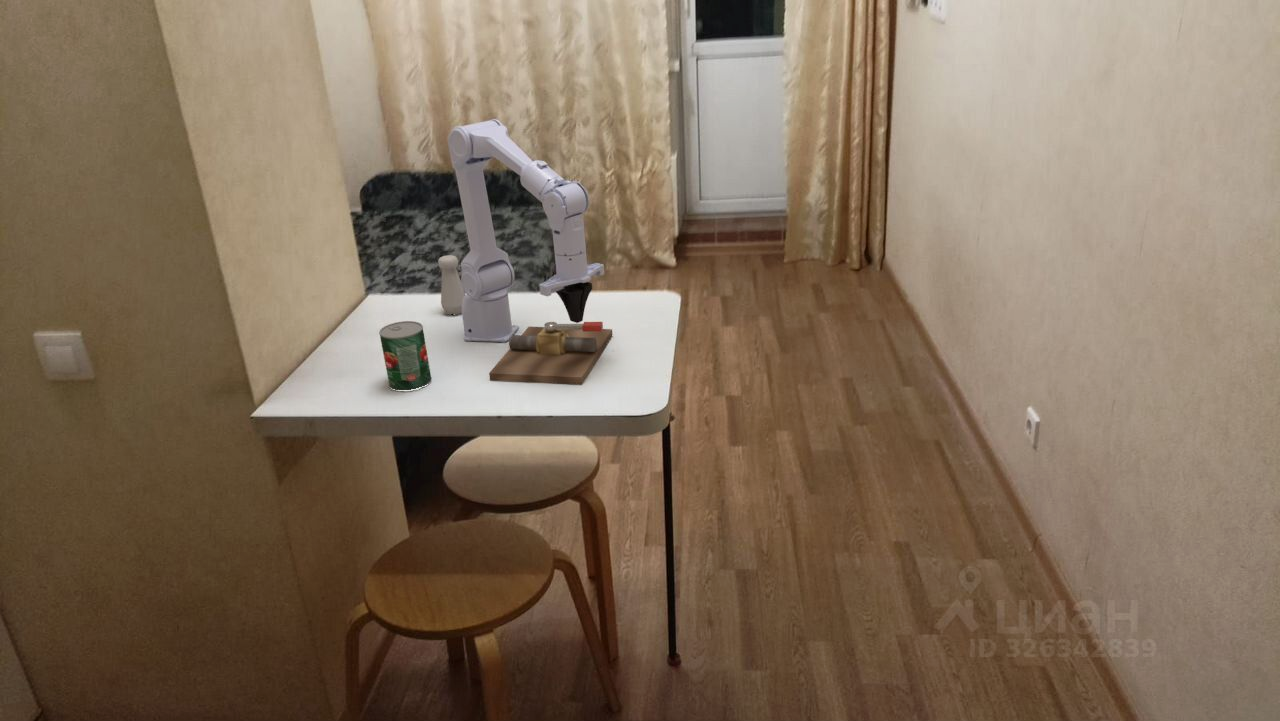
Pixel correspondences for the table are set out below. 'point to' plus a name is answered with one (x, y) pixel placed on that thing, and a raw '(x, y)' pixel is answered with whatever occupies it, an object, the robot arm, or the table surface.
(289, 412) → the table surface
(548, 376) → the valve board
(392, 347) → the canned tomato
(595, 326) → the valve lever
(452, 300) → the salt shaker
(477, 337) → the robot arm
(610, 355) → the table surface
